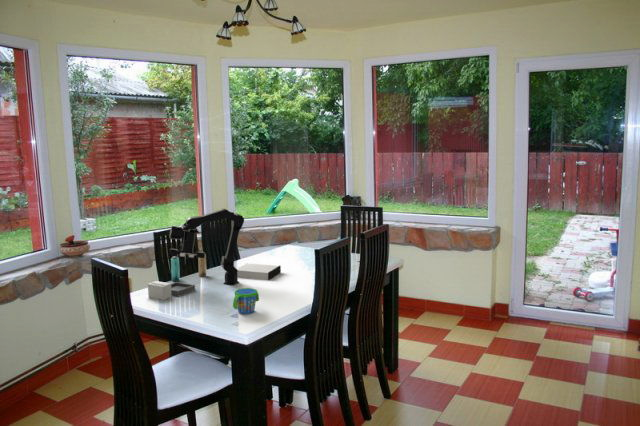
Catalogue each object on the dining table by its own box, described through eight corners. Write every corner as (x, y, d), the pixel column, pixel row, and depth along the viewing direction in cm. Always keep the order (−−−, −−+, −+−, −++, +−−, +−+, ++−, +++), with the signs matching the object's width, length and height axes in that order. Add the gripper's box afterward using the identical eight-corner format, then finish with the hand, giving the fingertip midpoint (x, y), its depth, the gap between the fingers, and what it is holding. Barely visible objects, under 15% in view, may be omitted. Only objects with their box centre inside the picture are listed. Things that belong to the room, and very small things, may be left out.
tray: (195, 289, 276) (194, 285, 275) (177, 296, 264) (177, 291, 264) (176, 286, 282) (176, 281, 281) (159, 292, 270) (159, 287, 270)
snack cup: (251, 305, 250) (250, 285, 248) (266, 310, 243) (266, 289, 241) (226, 313, 238) (225, 292, 236) (241, 318, 231) (240, 297, 230)
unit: (171, 296, 264) (171, 283, 263) (163, 299, 258) (162, 286, 257) (157, 293, 268) (156, 280, 267) (148, 297, 263) (147, 283, 262)
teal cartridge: (181, 280, 295) (180, 256, 293) (176, 281, 291) (175, 258, 289) (175, 279, 297) (174, 255, 295) (170, 280, 293) (169, 257, 291)
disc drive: (269, 281, 295) (269, 272, 294) (234, 277, 302) (233, 269, 301) (280, 273, 312) (280, 265, 311) (247, 270, 318) (247, 262, 318)
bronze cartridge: (207, 275, 305) (207, 252, 303) (203, 277, 301) (202, 254, 299) (202, 274, 307) (201, 252, 305) (197, 276, 303) (196, 253, 301)
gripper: (206, 241, 286) (202, 269, 286) (172, 237, 282) (168, 265, 282) (206, 243, 275) (202, 271, 275) (170, 238, 271) (166, 268, 271)
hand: (185, 269), depth 276 cm, fingers closed
